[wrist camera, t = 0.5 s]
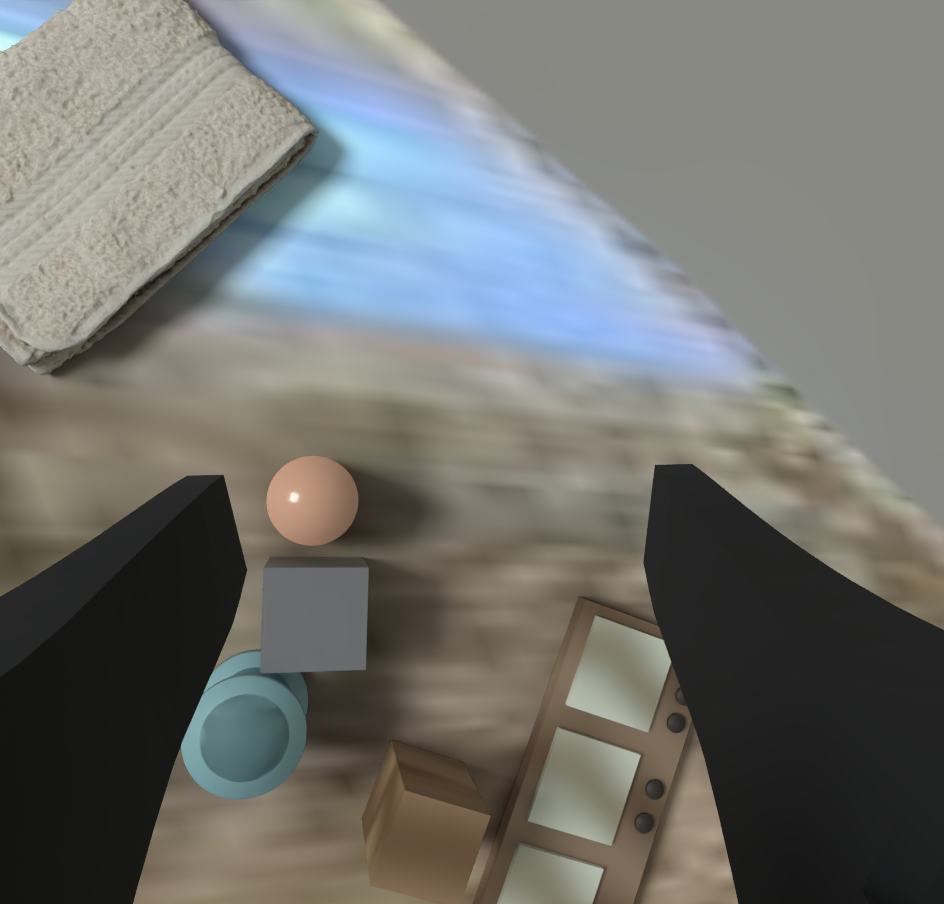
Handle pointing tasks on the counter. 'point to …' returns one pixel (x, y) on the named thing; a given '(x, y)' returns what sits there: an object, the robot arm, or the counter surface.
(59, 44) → the washcloth
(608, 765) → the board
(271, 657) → the charcoal cube
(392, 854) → the walnut block
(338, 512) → the peach round blob
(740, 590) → the robot arm
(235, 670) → the teal spool
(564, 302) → the counter surface
